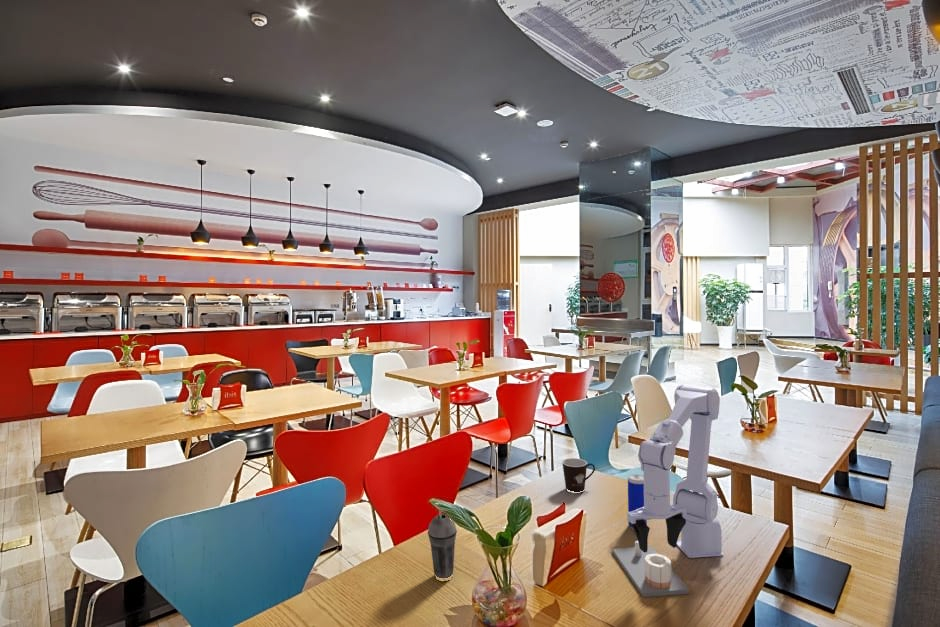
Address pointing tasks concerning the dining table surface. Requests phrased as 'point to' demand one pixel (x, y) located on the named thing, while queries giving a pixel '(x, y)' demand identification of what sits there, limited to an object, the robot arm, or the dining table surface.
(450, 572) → the beverage cup
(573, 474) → the coffee mug
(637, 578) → the pin board
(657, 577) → the sleeve
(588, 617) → the dining table surface
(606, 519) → the dining table surface
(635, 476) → the beverage can
